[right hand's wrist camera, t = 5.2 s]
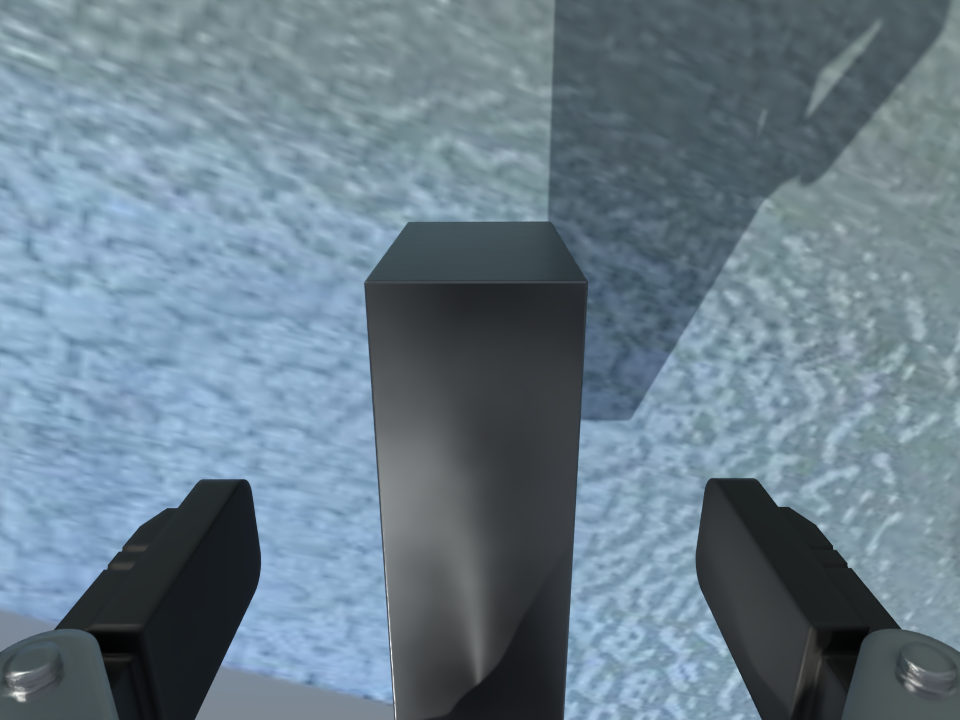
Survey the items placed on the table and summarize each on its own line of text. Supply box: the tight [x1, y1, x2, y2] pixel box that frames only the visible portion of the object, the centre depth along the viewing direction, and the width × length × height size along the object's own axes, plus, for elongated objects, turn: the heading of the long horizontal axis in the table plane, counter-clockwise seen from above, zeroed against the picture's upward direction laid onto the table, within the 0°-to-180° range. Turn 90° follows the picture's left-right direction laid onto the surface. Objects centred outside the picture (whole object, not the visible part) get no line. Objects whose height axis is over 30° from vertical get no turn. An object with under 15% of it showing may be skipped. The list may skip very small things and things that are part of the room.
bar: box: [364, 222, 588, 720], centre depth 22 cm, size 24×5×8 cm, turn 0°
